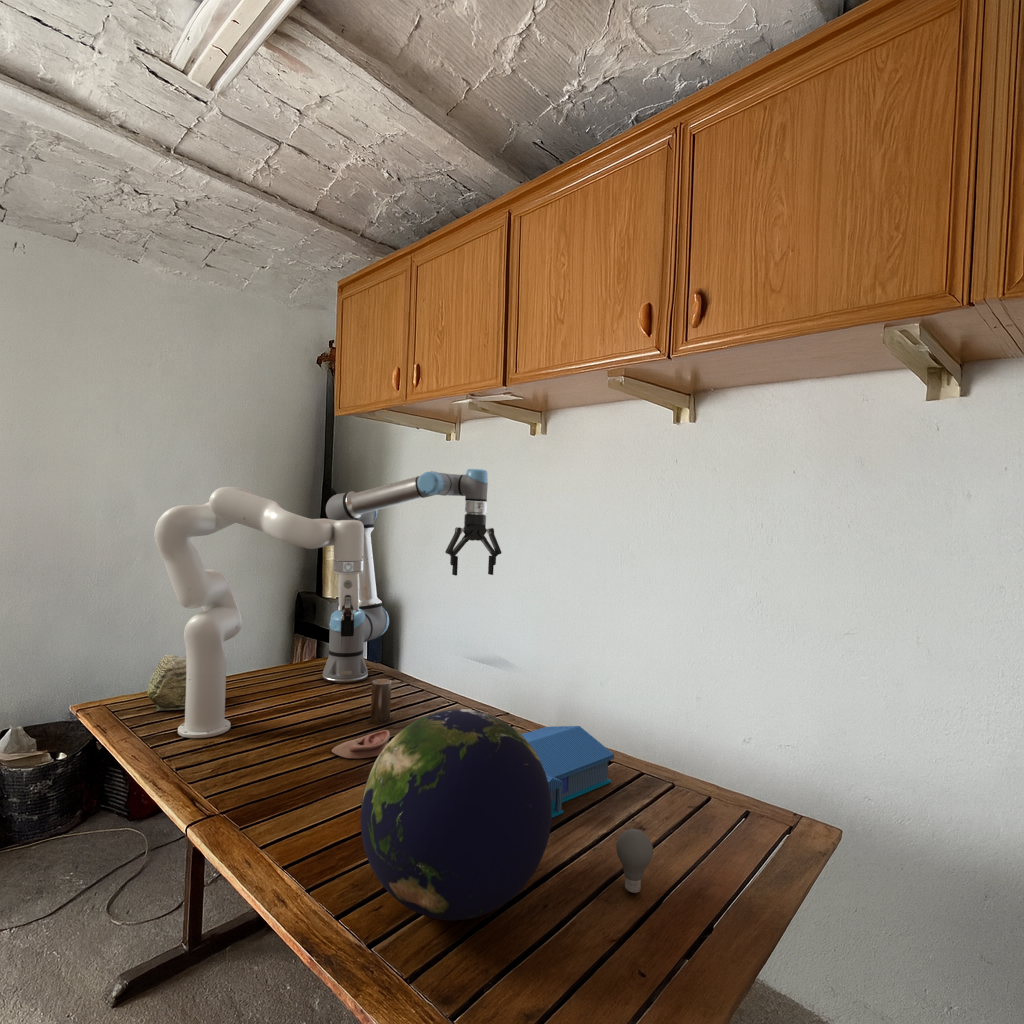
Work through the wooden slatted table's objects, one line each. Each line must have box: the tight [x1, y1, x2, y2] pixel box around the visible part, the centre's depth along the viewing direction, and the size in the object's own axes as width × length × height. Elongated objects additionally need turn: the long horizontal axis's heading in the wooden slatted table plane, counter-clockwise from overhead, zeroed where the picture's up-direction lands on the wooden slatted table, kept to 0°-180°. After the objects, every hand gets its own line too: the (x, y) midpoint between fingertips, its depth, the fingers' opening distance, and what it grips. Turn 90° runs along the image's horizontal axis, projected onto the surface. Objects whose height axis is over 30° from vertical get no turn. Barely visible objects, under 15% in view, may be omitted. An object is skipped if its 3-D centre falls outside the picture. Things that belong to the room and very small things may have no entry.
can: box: [370, 678, 392, 725], centre depth 180 cm, size 5×5×11 cm
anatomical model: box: [331, 729, 391, 759], centre depth 159 cm, size 13×4×12 cm
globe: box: [360, 708, 553, 922], centre depth 100 cm, size 30×30×30 cm
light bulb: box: [615, 828, 654, 894], centre depth 106 cm, size 6×6×10 cm
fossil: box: [147, 654, 187, 712], centre depth 185 cm, size 9×18×15 cm, turn 132°
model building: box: [520, 725, 615, 819], centre depth 140 cm, size 39×24×10 cm, turn 132°
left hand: (347, 632), depth 166 cm, fingers open, 9 cm apart
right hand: (472, 574), depth 220 cm, fingers open, 13 cm apart
